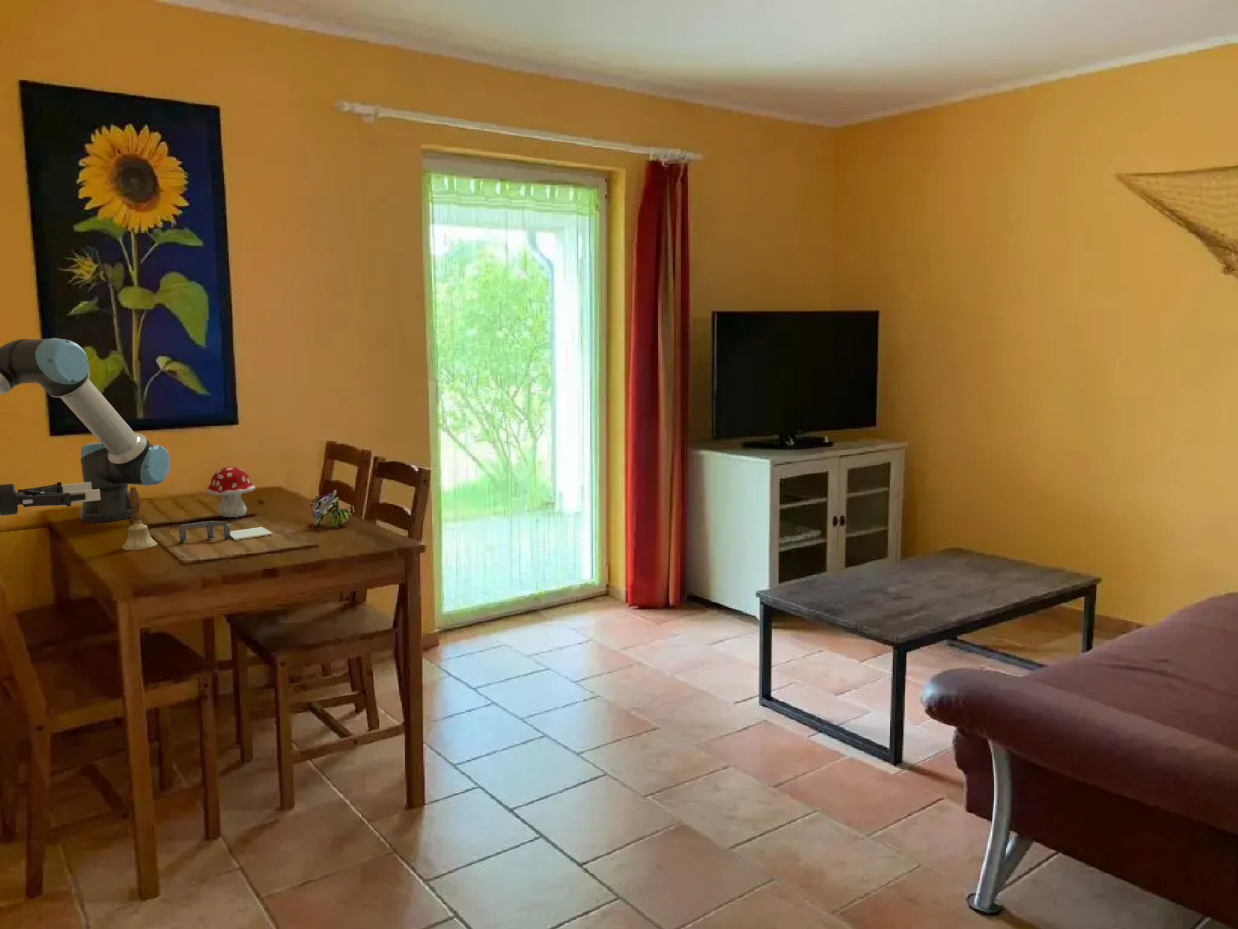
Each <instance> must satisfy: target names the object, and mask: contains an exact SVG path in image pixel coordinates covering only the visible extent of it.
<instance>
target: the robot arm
mask: <svg viewBox="0 0 1238 929" xmlns="http://www.w3.org/2000/svg"><path fill="white" fill-rule="evenodd" d="M88 361H89V358H88V354H87V353H86V352H85V350H84V349H83V348H82V346H80V345H79V344H78V343H76V342H74V341H72V340H71V339H70V340H69V339H63V338H57V337H52V338H29V339H28V338H19V339H14V340H12V341H9V342H6V343H4V344H3V345H1V346H0V395H4V394H5V395H6V394H8V393H9V392H10V391H11V390H12V389H14V388H15V387H16V386H19V385H22V384H23V385H24V384H39V385H40V387H42V389H44V391H45V392H46V393H47V394H48V395H49V396H50V397H53V398H60V399H61V400H62V401H63V403H64V404H65V405H66V406H67V407H68V408H69V409H70V410H71V411H72V412H73V413H74V414H75V416H76V417H77V418H78V419H79V420H80V422H81V423H83V425H84V426H85V427H86V428H87V429H88V430H89V431H90V432H91V433H92V435H93V436H94V437H95V438H96V439H97V440H98V442H93V443H87V444H83V445H82V446H81V448H80V458H79V459H80V464H81V472H82V481H83V482H79V483H78V482H77V483H68V484H62V481H57V482H56V483H54V484H50V485H49V484H48V485H43V486H36V487H30V488H20V489H17V490H16V486H15V484H14V483H5V484H4V483H3V484H0V516H1V517H3V516H11V515H17V514H18V511H19V510H18V509H19V508H18V506H19V505H20V506H21V505H22V506H23V508H29V507H43V506H44V507H45V506H46V507H49V506H66V508H67V507H69V508H70V507H72V504H75V503H82V504H81V507H80V512H79V516H80V521H82V522H88V523H103V522H113V521H119V520H120V521H121V520H125V519H129V518H128V517H129V516H131V515H133V510H132V508H131V505H130V502H129V494H130V491H129V490H130V489H129V485H135V486H136V485H137V486H138V485H140V486H156V485H158V484H161V483H162V482H163V481H164V480H165V479H166V478H167V477H168V474H169V472H170V469H171V457H170V454H169V451H168V450H167V449H166V448H165V447H164V446H163V445H162V446H161V445H159V444H155V445H154V444H152V443H151V442H150V441H149V440H148V438H147V436H145V435H144V434H142V433H140V432H134V430H133V429H132V428H131V427H130V425H129V424H128V423H127V422H126V421H125V419H123V418H122V416H121V415H120V414H119V412H118V411H117V410H116V409H115V407H113V406H112V404H111V403H110V402H109V401H108V400H107V399H106V397H105V396H104V395H103V394H102V392H100V390H99V389H98V387H96V386H95V384H93V382H92V381H91V380H90V379H89V378H90V374H91V373H90V370H89V368H90V363H88Z"/></svg>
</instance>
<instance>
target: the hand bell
mask: <svg viewBox="0 0 1238 929" xmlns="http://www.w3.org/2000/svg"><path fill="white" fill-rule="evenodd" d="M129 490H130V491H129V493H130V494H129V502H130V505H131V508H132V510H133V517H132V518H133V524H132V525H131V526H129V527H128V534H127V539H126V541H125V543H124V544H123V545H122V546H121V547H122V548H121V549H123V550H125V551H142V550H146V549H147V548H148V549H151V548H150V547H152V548H154V547H153V546H155V547H156V546H157V545H158V543H157V542H156V541H155V540H154V539H153V538H152V536H151V534H150V532H149V528H148V525H146V524H144V523H142V519H141V518H142V517H141V513H140V506H141V495H140V494H139V491H138V489H137V486H131V487H130V489H129ZM141 549H142V550H141Z"/></svg>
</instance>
